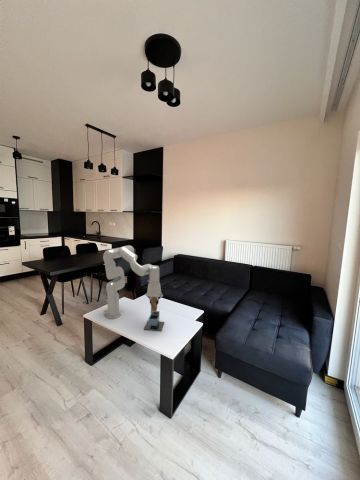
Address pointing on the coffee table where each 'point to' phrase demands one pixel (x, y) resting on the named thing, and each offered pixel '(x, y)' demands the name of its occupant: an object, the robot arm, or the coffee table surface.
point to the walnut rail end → (153, 304)
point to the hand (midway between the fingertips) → (154, 304)
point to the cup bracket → (154, 322)
